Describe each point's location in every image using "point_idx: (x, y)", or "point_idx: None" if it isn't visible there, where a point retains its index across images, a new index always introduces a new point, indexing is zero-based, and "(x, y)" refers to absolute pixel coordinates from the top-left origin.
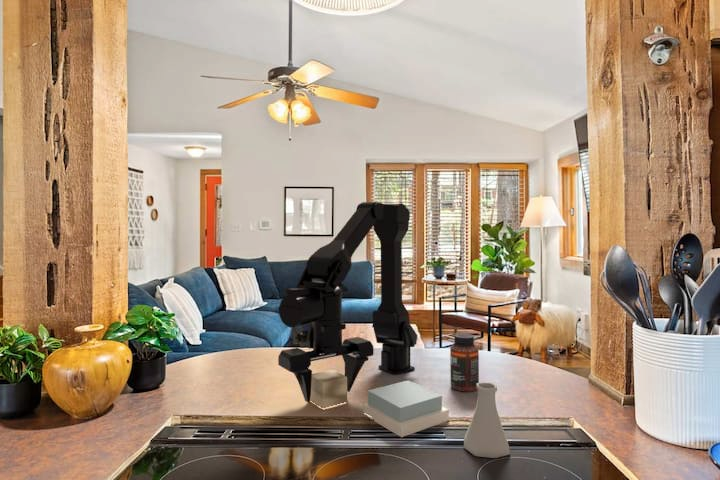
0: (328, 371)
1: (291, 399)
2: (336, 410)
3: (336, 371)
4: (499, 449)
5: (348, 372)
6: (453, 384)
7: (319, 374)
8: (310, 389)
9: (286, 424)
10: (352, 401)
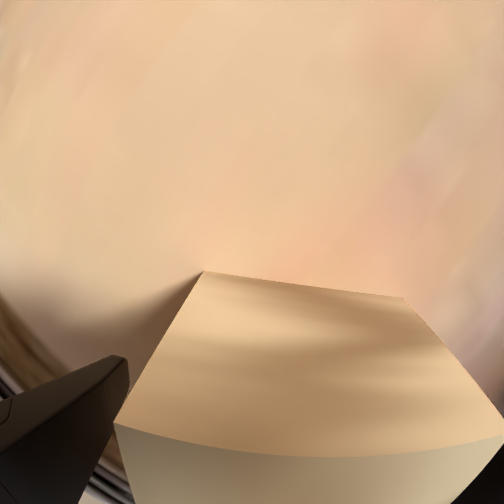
0: (431, 474)
1: (129, 145)
2: None
3: (462, 490)
4: None
5: (486, 497)
6: None
7: (256, 501)
8: (85, 476)
9: (20, 382)
10: None
